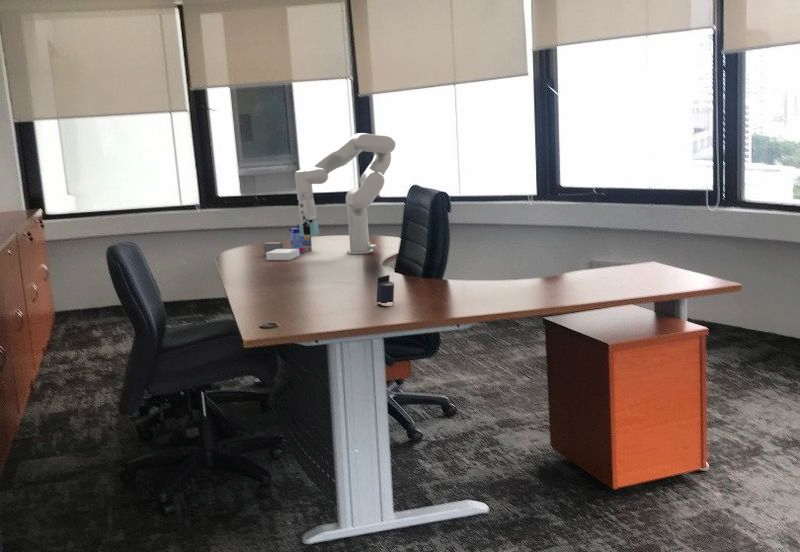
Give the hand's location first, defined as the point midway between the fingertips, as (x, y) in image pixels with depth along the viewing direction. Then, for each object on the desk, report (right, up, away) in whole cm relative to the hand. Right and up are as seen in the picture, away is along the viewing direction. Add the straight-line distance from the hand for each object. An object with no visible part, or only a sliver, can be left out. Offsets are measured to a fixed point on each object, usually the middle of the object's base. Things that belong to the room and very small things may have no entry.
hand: (309, 233), depth 438 cm
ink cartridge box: (-6, -8, +24) cm, 26 cm away
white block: (-13, -12, +6) cm, 19 cm away
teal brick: (0, -1, 0) cm, 1 cm away
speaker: (+39, -31, -113) cm, 123 cm away
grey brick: (-20, -10, +19) cm, 29 cm away
